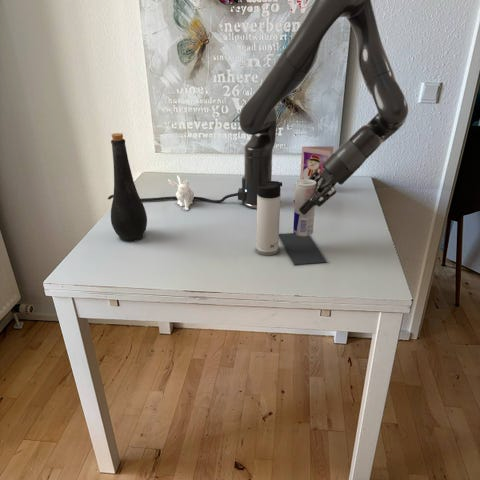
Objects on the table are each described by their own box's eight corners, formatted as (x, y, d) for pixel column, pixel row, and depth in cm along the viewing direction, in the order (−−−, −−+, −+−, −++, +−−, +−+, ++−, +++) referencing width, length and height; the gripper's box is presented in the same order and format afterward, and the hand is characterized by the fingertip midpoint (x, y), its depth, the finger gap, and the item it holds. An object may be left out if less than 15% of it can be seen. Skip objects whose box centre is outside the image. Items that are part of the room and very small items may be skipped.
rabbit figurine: (188, 210, 166) (186, 182, 160) (166, 209, 167) (164, 181, 162) (197, 198, 176) (195, 171, 170) (176, 197, 177) (174, 170, 171)
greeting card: (298, 187, 185) (301, 147, 176) (307, 182, 190) (310, 142, 181) (325, 193, 179) (329, 152, 171) (334, 188, 184) (338, 147, 176)
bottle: (155, 232, 151) (143, 131, 135) (138, 246, 143) (124, 140, 126) (125, 227, 154) (110, 128, 137) (107, 241, 146) (89, 137, 129)
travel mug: (277, 256, 137) (280, 187, 126) (254, 254, 138) (255, 185, 127) (280, 247, 142) (283, 179, 131) (258, 245, 143) (259, 178, 132)
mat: (278, 235, 149) (278, 234, 149) (306, 233, 151) (307, 232, 150) (294, 265, 133) (294, 264, 133) (326, 262, 134) (326, 261, 134)
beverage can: (315, 231, 140) (319, 179, 132) (309, 238, 136) (313, 186, 128) (296, 228, 142) (299, 177, 134) (290, 235, 138) (292, 183, 130)
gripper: (327, 145, 134) (283, 190, 139) (345, 160, 122) (296, 209, 127) (344, 163, 137) (300, 207, 142) (362, 180, 125) (314, 226, 131)
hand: (298, 208), depth 135 cm, fingers closed on beverage can, 5 cm apart
